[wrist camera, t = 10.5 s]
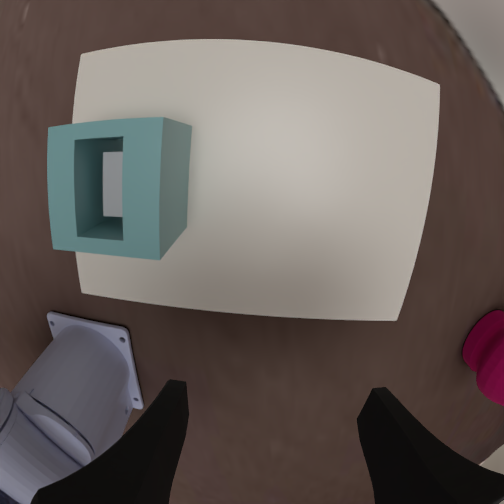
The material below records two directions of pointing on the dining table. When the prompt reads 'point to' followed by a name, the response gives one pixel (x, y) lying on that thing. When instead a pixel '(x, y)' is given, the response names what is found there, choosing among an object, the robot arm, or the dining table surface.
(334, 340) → the dining table surface
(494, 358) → the pepper mill
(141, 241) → the teal square tube
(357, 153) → the key plate
